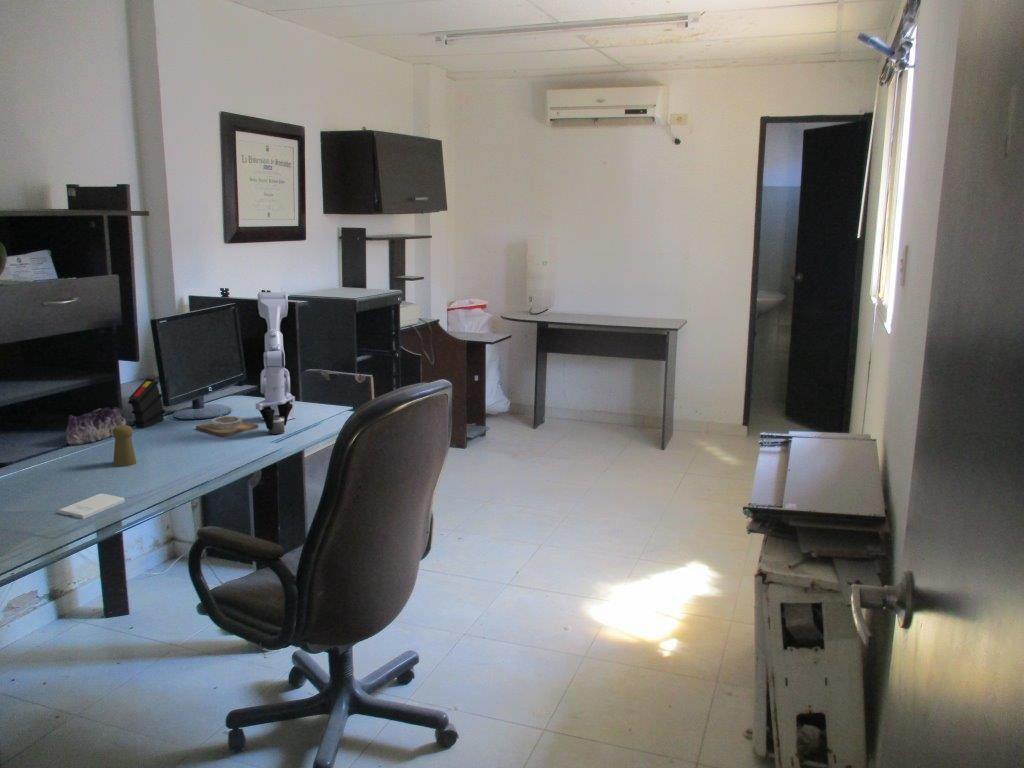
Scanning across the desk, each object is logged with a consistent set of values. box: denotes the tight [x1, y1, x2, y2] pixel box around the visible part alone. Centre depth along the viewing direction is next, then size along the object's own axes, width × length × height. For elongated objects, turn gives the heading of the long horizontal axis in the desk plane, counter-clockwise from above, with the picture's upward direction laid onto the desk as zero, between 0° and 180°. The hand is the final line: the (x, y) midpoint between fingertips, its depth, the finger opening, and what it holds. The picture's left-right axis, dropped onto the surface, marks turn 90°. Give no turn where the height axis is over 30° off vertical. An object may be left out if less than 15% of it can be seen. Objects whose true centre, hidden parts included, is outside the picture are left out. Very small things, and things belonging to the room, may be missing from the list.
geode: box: [65, 406, 127, 447], centre depth 258 cm, size 20×12×10 cm, turn 167°
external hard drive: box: [57, 493, 126, 520], centre depth 202 cm, size 2×8×12 cm
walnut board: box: [195, 420, 259, 438], centre depth 273 cm, size 14×14×1 cm
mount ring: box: [211, 415, 243, 430], centre depth 273 cm, size 9×9×2 cm
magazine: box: [127, 378, 166, 429], centre depth 273 cm, size 4×13×15 cm, turn 168°
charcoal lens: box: [268, 415, 285, 435], centre depth 269 cm, size 5×5×5 cm
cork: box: [112, 424, 137, 468], centre depth 234 cm, size 6×6×11 cm
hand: (276, 426), depth 270 cm, fingers closed on charcoal lens, 5 cm apart
